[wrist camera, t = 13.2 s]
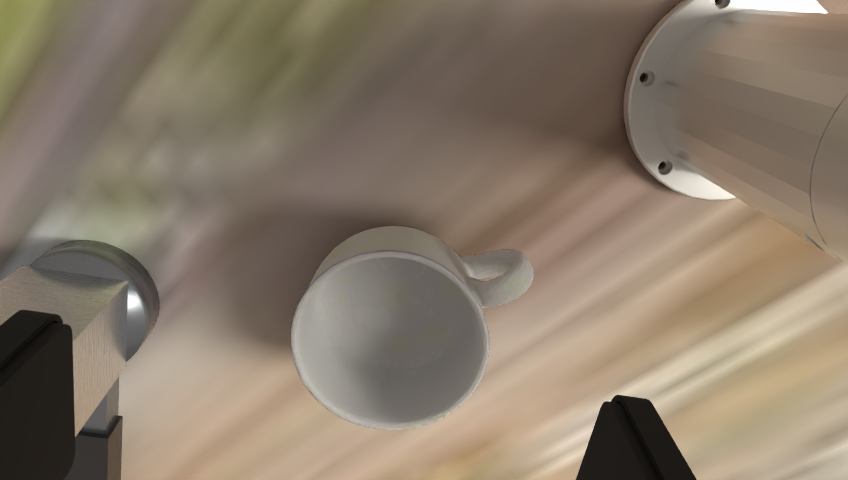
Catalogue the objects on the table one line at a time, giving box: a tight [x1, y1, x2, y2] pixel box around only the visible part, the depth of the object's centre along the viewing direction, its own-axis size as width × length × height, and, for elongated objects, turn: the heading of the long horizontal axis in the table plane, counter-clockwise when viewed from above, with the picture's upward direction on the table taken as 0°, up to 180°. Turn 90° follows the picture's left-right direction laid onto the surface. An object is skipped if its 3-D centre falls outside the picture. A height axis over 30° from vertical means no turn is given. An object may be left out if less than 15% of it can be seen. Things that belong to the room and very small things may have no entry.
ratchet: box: [29, 240, 159, 480], centre depth 40 cm, size 21×8×6 cm, turn 169°
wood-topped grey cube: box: [0, 265, 128, 437], centre depth 35 cm, size 6×6×7 cm
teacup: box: [291, 226, 534, 430], centre depth 37 cm, size 14×11×8 cm
